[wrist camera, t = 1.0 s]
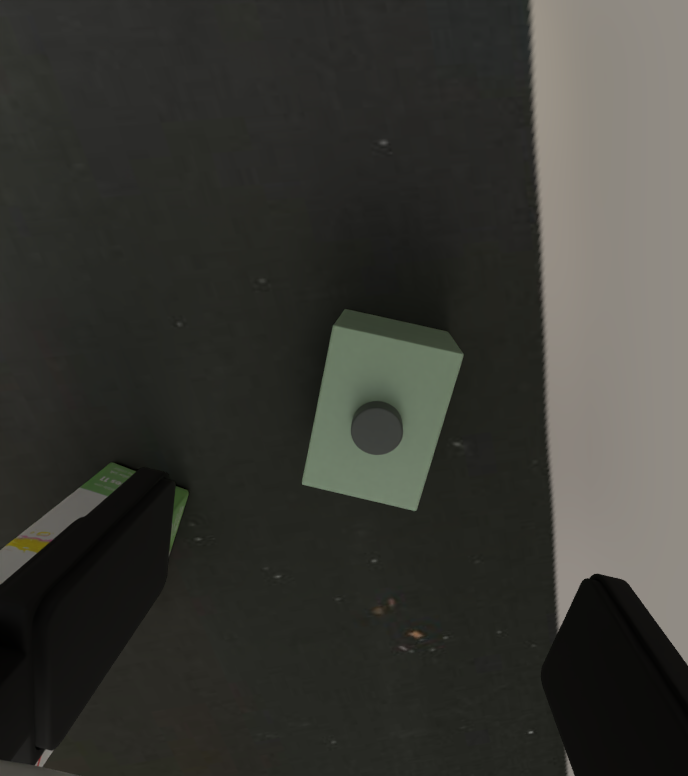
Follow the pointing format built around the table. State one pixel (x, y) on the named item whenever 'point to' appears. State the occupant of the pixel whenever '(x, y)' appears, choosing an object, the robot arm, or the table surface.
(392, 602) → the table surface
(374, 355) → the green knobbed block
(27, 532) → the ink box
